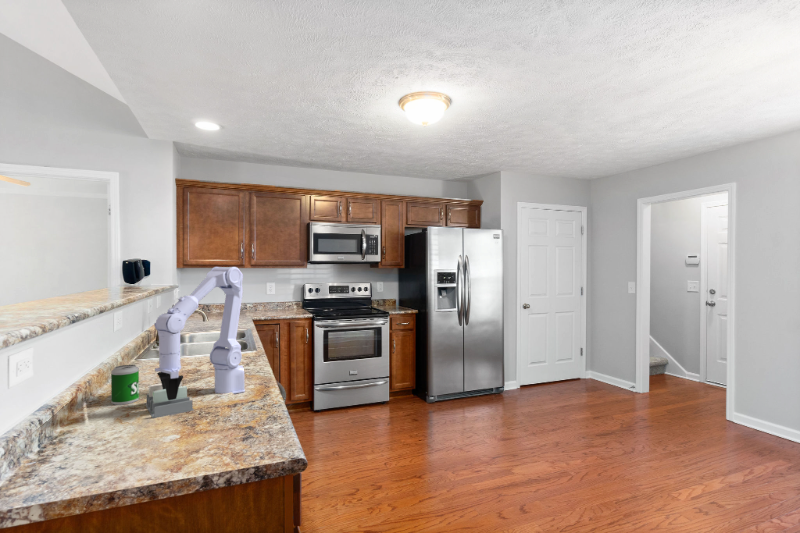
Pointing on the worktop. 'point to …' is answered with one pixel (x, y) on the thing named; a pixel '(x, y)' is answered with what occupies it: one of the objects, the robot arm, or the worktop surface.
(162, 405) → the dish rack
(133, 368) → the soda can
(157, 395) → the celadon plate
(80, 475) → the worktop surface
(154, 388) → the white rectangular block
